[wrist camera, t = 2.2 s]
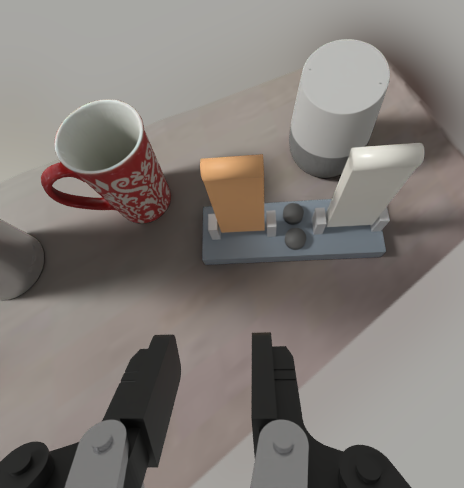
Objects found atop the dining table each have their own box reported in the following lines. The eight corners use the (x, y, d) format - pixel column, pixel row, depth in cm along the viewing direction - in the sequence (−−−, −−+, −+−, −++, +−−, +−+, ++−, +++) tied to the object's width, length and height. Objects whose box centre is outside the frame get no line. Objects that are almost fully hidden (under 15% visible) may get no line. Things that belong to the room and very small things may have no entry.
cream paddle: (326, 228, 36) (356, 162, 24) (325, 213, 37) (353, 142, 25) (372, 225, 36) (426, 157, 24) (370, 211, 36) (421, 137, 24)
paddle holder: (205, 264, 40) (197, 252, 35) (206, 213, 42) (198, 195, 38) (380, 256, 38) (396, 242, 33) (370, 204, 40) (384, 183, 36)
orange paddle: (221, 233, 37) (199, 173, 25) (221, 219, 38) (200, 154, 26) (264, 231, 37) (263, 169, 25) (263, 217, 38) (262, 149, 25)
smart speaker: (278, 173, 43) (283, 93, 30) (299, 120, 46) (312, 24, 33) (349, 193, 41) (387, 115, 28) (366, 136, 44) (408, 41, 31)
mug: (164, 160, 46) (125, 84, 33) (188, 211, 43) (155, 148, 30) (82, 198, 45) (10, 135, 33) (101, 252, 42) (30, 206, 29)
